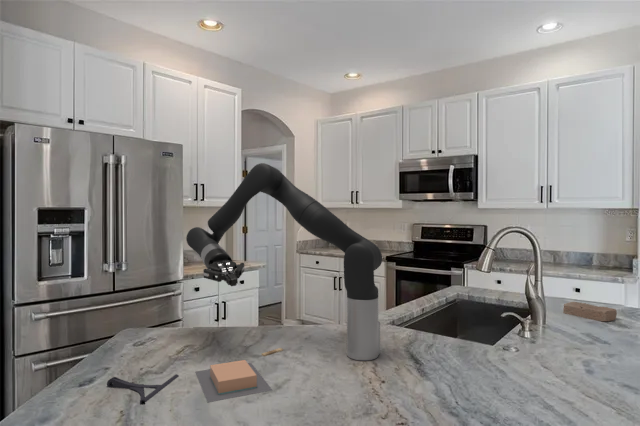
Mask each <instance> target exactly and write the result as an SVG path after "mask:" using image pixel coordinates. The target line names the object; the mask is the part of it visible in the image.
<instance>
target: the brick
mask: <svg viewBox="0 0 640 426" xmlns="http://www.w3.org/2000/svg"><path fill="white" fill-rule="evenodd" d="M562 308H563V310H562V313H563V314H566V315H568V316H574V317H579V318H583V319H588V320H593V321H595V322H596V321H598V322H611V321H612V322H613V321H616V320H617V314H618V312H617V310H616V309H617V308H612V307H607V306H597V305H594V304H589V303H586V302H585V303H584V302H583V303H582V302H578V301H570V302H566V303H563V307H562Z"/></svg>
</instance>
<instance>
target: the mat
mask: <svg viewBox="0 0 640 426" xmlns="http://www.w3.org/2000/svg"><path fill="white" fill-rule="evenodd" d="M247 363H248V362H247ZM248 364H249V366H250V367H251V368H252V370H253V371H254V372H255V374H256V375H257V388H253V389H247V390H242V391H236V392H231V393H225V394H220V395H219V394H218V392H217V390H216V388H215V386H214V384H213V382H212V380H211V378H210V368H209V369H205V370H204V369H203V370H198V371H196V370H195V375H196V377H197V380H198V383H199V385H200V387H201V390H202V392H203V394H204V398H205V399H206V402H207V403H212V402H214V403H215V402H218V401H223V400H229V399H234V398H239V397H244V396H249V395H254V394H255V395H256V394H260V393H261V394H262V393H266V392H271V391H273V389H272V388H271V386H270V385H269V384H268V382H267V381H266V379H264V377H263V376H262V375H261V373H259V371H258V369H256V367H255V365H254V364H253V363H252V362H249V363H248Z"/></svg>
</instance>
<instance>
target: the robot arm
mask: <svg viewBox="0 0 640 426" xmlns="http://www.w3.org/2000/svg"><path fill="white" fill-rule="evenodd" d="M259 193H263V194H266V195H267V196H270V197H271V198H273V199H275V200H276V201H277V202H279V203H280V204H282V206H284V207H285V208H286V209H287V211H288V212H289V214H290V215H291V217H292V218H293V219H294V221H296V223H298V224H299V225H300V226H301V227H303V228H304V229H305V230H306V231H307V232H308V233H310V234H312V235H313V236H315V237H316V238H317V239H320V240H322V241H325V242H327V243H329V244H331V245H333V246H335V247H337V248H338V249H339V250H340V251H342V252H343V253H344V255H343V280H344V281H343V282H344V284H343V285H344V288H345V291H346V356H347V357H349V358H350V359H351V360H356V361H371V360H375V359H377V358H378V357H379V355H380V354H381V322H380V321H379V288H378V286H376V284H375V271H376V270H377V269H379V267H381V264H382V262H383V254H382V252H381V249H380V248H379V246H377V244H376V243H374V242H373V241H371V240H369V239H368V238H366V237H365V236H362V235H361V234H359V233H358V232H357V231H354V229H352V228H351V227H349V226H348V225H347V224H346V223H345V222H344V221H342V220H341V219H340V218H339V217H338V216H336V215H335V214H334V213H332V212H331V210H329V209H328V208H327V207H325V206H324V205H323V204H321V202H319V201H318V200H317V199H315V198H313V197H312V196H311V195H309V194H308V193H306V192H305V191H303V190H301V189H300V188H298V187H296V186H295V184H293V182H291V181H290V180H289V179H288V178H287V177H286V176H285V175H284V174H283V173H282V172H281V171H280V170H279V169H278V168H276V167H274V166H272V165H271V164H268V163H265V162H264V163H263V162H260V163H258V164H256V165H253V167H252V168H251V169H250V171H249V172H248V173H247V174H246V175H245V177H244V179H243V180H242V181H241V183H240V184H239V185H238V187H237V188H236V190H235V191H234V192H233V193H232V195H231V196H230V197H229V198H228V199H227V201H226V202H225V203H224V204H223V205H222V206H221V207H220V208H219V209H218V210H217V211H216V212H215V213H214V214H213V215H212V216H211V217H210V218H209V219H208V221H207V226H208V227H209V230H211V232H212V233H210V232H208V231H207V230H205V229H204V228H202V227H199V226H195V227H193V228H191V229H189V231H188V232H187V234H186V240H185V241H186V244H187V245H188V246H189V247H190V249H192V250H193V251H194V252H195V253H197V254H198V256H199V257H200V259H201V260H202V263H203V265H205V268H204V269H203V271H202V272H203V278H204V279H207V280H210V281H215V282H217V283H218V282H219V283H222V281H223V282H225V283H226V284H227V285H228V286H231V287H235V286H237V284H238V282H239V279H240V278H241V276H242V275H243V273H244V272H245V262H240V264H237V263H236V262H235V261H233V259H232V257H231V256H230V255H229V254H228V252H227V251H226V250H225V249H224V248H223V247H222V246H221V245H220V241H221V240H222V238H223V236H224V235H225V233H226V232H228V231H229V230H230V228H232V226H234V225H235V224H236V223H237V221H239V219H240V217H241V215H242V213H243V211H244V209H245V207H246V205H247V204H248V203H249V201H250V200H251V199H253V197H255V196H257V194H259ZM238 285H239V284H238Z"/></svg>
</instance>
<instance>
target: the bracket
mask: <svg viewBox="0 0 640 426" xmlns="http://www.w3.org/2000/svg"><path fill="white" fill-rule="evenodd" d="M179 377H180V375H179V374H176V373H175V374H174V375H173V376H171V377H170V378H169V379H167V380H166V381H164V382H163V383H162V384H141V383H140V384H139V383H135V382H130V381H126V380H124V379H121V378H119V377H117V376H113V377H112V378H109V379H108V381H107V382H106V387H107V388H114V389H115V388H116V389H128V390H132V391H134V392H137V394H139V395H140V400H139V405H142V404H144V403H147V402H148V401H150V399H151V398H153V397H154V396H156V395H157V394H158V393H160V392H161V391H162V390H163V389H165V388H166V387H167V386H168V385H170V384H171V383H172V382H174V381H175V380H177V378H179ZM145 389H153V391H151V392H150V393H149V394H148V395H145Z"/></svg>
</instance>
